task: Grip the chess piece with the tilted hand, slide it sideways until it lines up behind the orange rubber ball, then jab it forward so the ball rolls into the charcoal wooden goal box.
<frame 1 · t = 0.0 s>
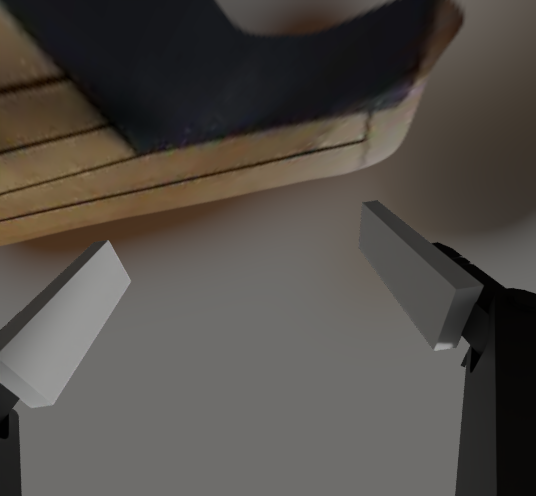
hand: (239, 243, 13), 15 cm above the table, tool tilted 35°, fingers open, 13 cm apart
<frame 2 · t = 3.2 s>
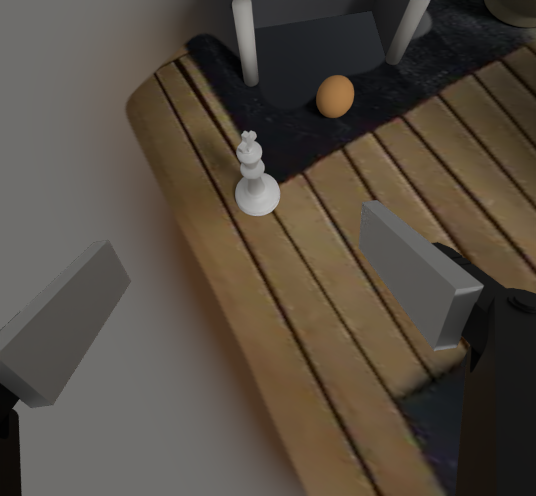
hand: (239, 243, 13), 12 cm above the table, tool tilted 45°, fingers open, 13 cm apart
goal: (316, 44, 31), on the table
planter bowl: (518, 3, 31), on the table
ball: (334, 97, 27), point 2 cm above the table
chess piece: (257, 195, 27), on the table
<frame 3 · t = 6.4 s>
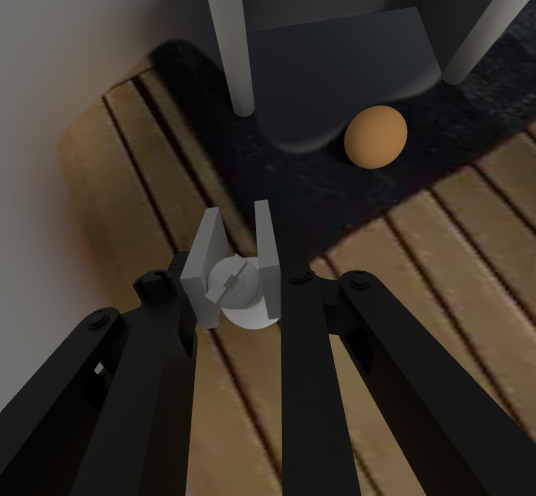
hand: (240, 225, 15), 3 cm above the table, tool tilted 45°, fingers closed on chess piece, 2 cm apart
goal: (338, 54, 21), on the table
ball: (374, 138, 17), point 2 cm above the table
chess piece: (254, 292, 17), on the table, touching gripper
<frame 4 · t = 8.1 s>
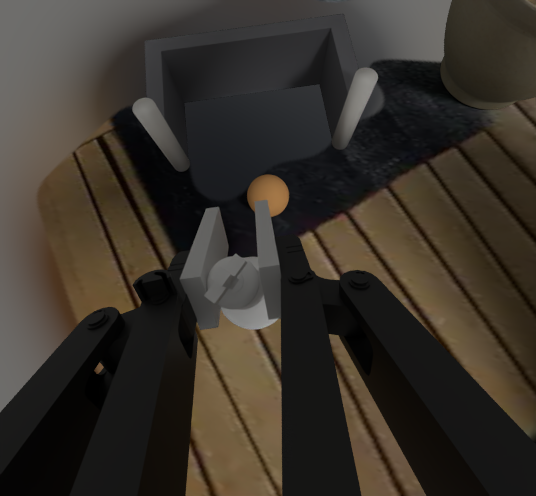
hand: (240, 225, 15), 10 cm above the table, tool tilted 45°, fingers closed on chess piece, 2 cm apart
goal: (256, 122, 28), on the table
planter bowl: (478, 79, 29), on the table
ball: (268, 196, 24), point 2 cm above the table
chess piece: (253, 292, 17), point 6 cm above the table, touching gripper
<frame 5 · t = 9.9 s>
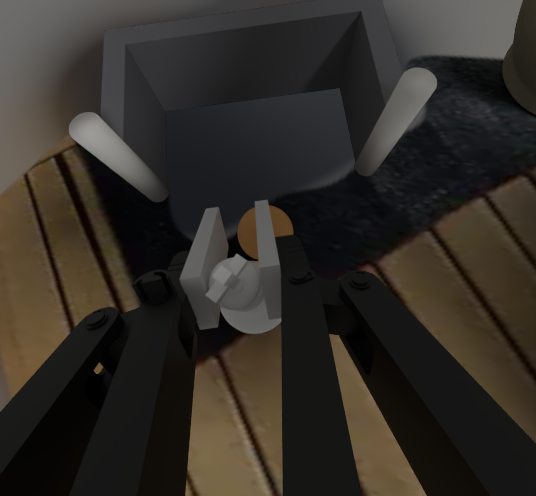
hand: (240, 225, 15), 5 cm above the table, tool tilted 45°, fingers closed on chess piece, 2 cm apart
goal: (256, 138, 21), on the table
ball: (265, 233, 18), point 2 cm above the table, tilted 25°, touching gripper
chess piece: (254, 296, 17), point 1 cm above the table, touching gripper
when the fingers open (5 cm above the table, at t = 11.4 s): chess piece drops 1 cm, on the table.
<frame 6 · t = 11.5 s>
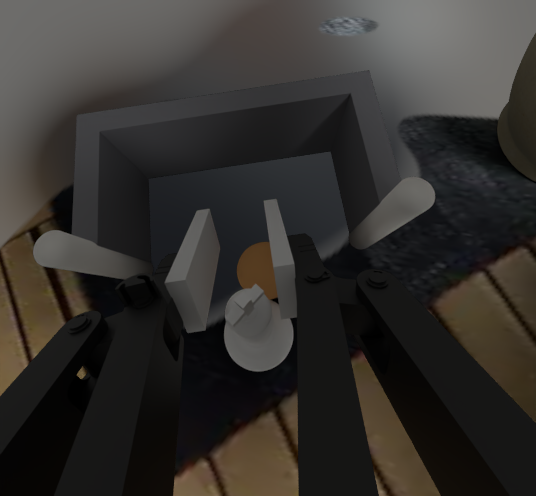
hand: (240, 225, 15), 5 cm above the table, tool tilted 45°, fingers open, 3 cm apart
goal: (244, 207, 20), on the table
ball: (265, 270, 17), point 2 cm above the table, tilted 105°
chess piece: (259, 333, 18), on the table
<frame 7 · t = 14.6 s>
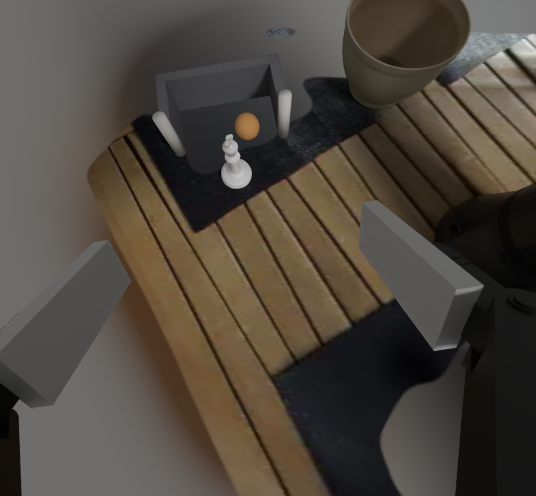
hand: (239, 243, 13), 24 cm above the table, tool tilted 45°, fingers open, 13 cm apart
goal: (228, 122, 42), on the table
planter bowl: (374, 88, 43), on the table
ball: (246, 126, 40), point 2 cm above the table, tilted 155°
chess piece: (236, 174, 40), on the table
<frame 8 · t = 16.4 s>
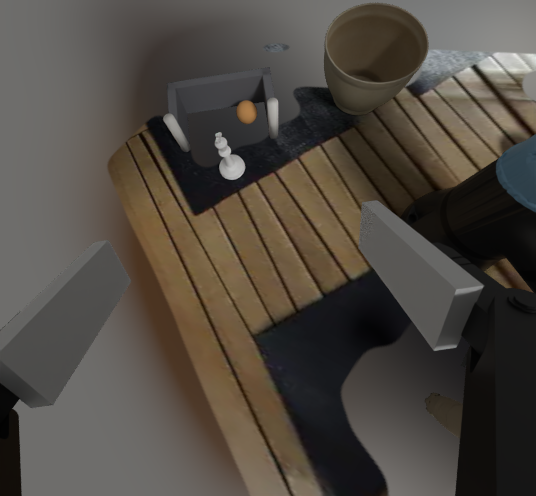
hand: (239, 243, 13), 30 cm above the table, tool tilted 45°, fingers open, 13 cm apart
goal: (227, 124, 49), on the table
handle: (433, 403, 37), on the table
planter bowl: (355, 97, 50), on the table
ball: (246, 112, 48), point 2 cm above the table, tilted 72°
chess piece: (232, 168, 47), on the table
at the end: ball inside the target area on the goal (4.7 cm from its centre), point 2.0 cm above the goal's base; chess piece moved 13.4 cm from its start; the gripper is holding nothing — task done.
